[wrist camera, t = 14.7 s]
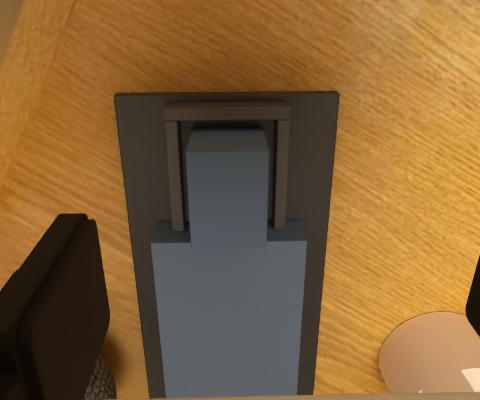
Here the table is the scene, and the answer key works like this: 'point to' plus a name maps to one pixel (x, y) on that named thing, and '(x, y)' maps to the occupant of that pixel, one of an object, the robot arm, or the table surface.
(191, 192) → the blue-grey block
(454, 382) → the cylinder with rectangular tab
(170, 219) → the backing plate
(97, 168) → the table surface
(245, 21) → the table surface
